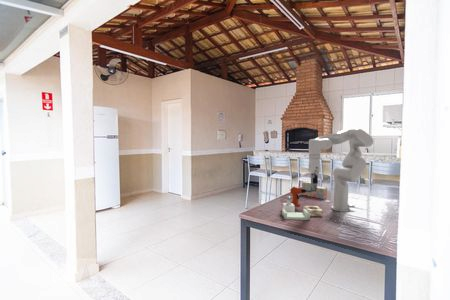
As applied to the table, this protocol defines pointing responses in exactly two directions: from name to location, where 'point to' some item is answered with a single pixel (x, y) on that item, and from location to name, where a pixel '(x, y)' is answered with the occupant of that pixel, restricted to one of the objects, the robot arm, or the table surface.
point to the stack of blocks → (319, 193)
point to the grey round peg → (313, 185)
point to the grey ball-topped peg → (288, 200)
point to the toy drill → (295, 196)
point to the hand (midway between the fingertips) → (314, 182)
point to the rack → (296, 215)
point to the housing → (289, 207)
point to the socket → (314, 210)
